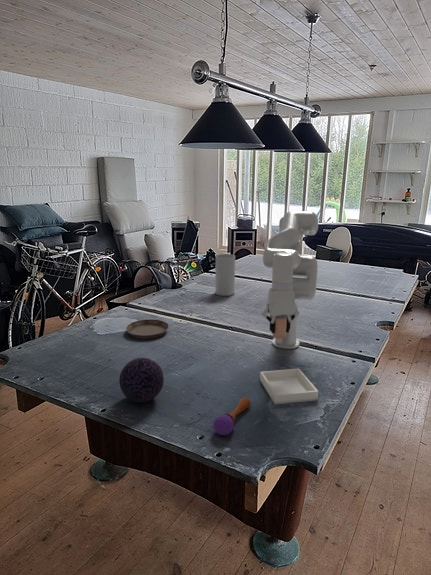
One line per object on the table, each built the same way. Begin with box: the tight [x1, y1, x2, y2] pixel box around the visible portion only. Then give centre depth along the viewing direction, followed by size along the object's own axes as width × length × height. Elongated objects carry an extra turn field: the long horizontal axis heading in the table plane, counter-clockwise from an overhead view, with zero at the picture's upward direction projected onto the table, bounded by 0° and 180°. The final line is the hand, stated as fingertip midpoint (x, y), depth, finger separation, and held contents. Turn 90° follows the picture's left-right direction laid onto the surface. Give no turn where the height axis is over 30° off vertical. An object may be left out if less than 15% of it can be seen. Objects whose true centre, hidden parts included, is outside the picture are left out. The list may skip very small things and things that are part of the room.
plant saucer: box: [125, 318, 170, 340], centre depth 204 cm, size 21×21×3 cm
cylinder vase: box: [214, 253, 236, 297], centre depth 267 cm, size 12×12×25 cm
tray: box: [259, 367, 319, 406], centre depth 150 cm, size 18×16×4 cm
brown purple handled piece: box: [213, 397, 252, 436], centre depth 131 cm, size 6×6×20 cm
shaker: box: [272, 315, 287, 339], centre depth 158 cm, size 5×5×9 cm
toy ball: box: [118, 357, 165, 403], centre depth 142 cm, size 15×15×15 cm
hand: (279, 331), depth 158 cm, fingers closed on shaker, 5 cm apart
